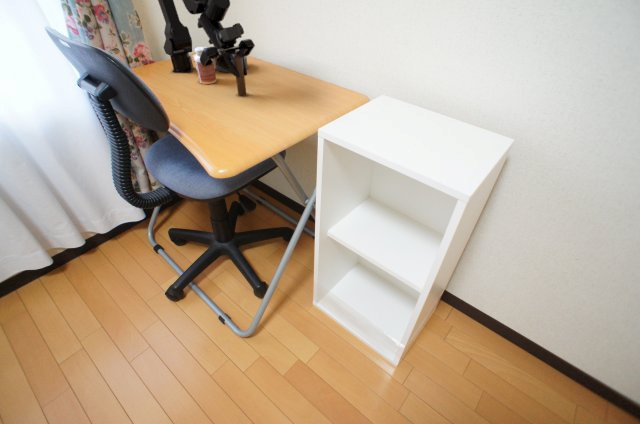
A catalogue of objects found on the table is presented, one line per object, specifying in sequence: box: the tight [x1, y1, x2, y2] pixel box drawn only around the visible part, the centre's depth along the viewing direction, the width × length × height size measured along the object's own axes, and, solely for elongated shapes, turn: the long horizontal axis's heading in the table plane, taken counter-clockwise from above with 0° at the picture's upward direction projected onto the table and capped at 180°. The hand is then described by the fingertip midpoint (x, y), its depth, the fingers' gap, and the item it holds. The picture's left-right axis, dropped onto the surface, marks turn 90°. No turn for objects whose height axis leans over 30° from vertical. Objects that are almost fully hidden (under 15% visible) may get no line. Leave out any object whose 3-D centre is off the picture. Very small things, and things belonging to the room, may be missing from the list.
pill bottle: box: [194, 46, 217, 85], centre depth 110 cm, size 6×6×11 cm
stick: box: [233, 56, 248, 97], centre depth 102 cm, size 3×3×12 cm
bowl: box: [213, 54, 249, 74], centre depth 124 cm, size 13×13×4 cm
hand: (242, 76), depth 101 cm, fingers closed on stick, 3 cm apart
